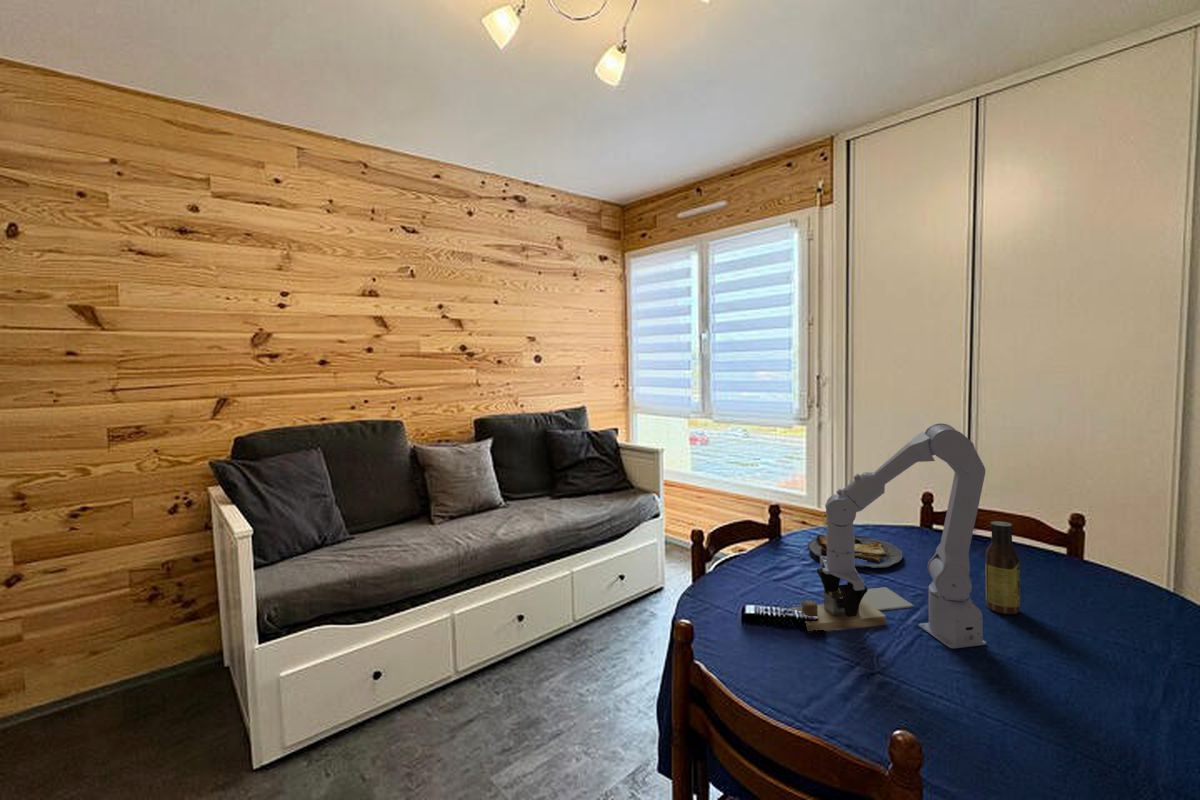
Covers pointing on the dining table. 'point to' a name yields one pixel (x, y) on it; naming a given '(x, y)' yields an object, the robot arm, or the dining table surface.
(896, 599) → the rubber mat
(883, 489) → the robot arm
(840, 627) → the body
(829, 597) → the grey block
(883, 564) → the food plate
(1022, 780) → the dining table surface
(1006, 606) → the sauce bottle
